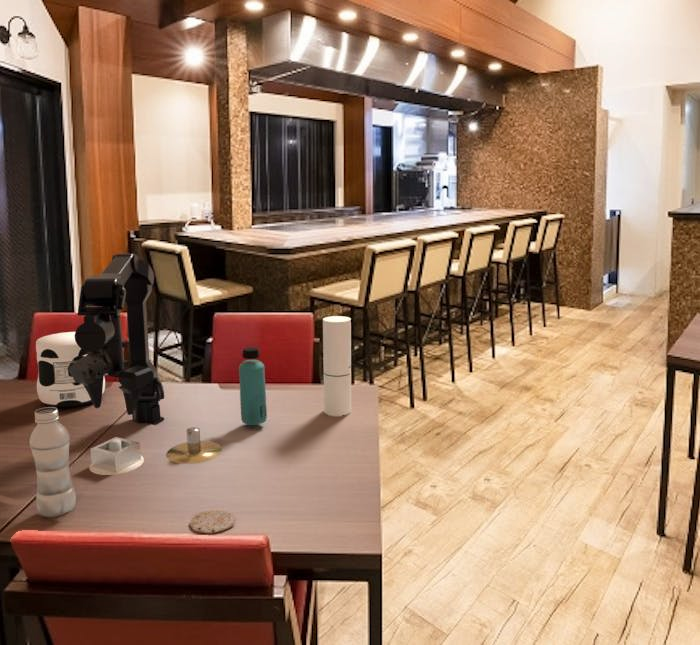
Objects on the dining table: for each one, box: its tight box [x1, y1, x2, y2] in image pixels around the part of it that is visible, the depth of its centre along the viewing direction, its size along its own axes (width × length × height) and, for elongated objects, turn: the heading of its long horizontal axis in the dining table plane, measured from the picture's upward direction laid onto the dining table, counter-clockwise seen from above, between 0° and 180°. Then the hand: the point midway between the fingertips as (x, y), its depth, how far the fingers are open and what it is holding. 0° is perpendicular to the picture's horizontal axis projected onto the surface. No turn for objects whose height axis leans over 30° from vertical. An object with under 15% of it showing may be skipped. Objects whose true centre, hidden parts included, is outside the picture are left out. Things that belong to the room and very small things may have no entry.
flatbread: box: [189, 509, 236, 534], centre depth 114 cm, size 8×8×1 cm
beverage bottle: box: [238, 346, 268, 426], centre depth 156 cm, size 6×7×20 cm
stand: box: [88, 438, 145, 476], centre depth 135 cm, size 11×11×6 cm
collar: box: [89, 436, 142, 473], centre depth 135 cm, size 7×7×4 cm
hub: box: [166, 426, 223, 465], centre depth 141 cm, size 12×12×6 cm
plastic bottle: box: [29, 406, 77, 518], centre depth 115 cm, size 6×7×20 cm
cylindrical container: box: [322, 315, 352, 417], centre depth 165 cm, size 7×7×25 cm
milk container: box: [35, 331, 106, 408], centre depth 175 cm, size 17×17×18 cm
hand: (113, 411), depth 133 cm, fingers open, 9 cm apart
